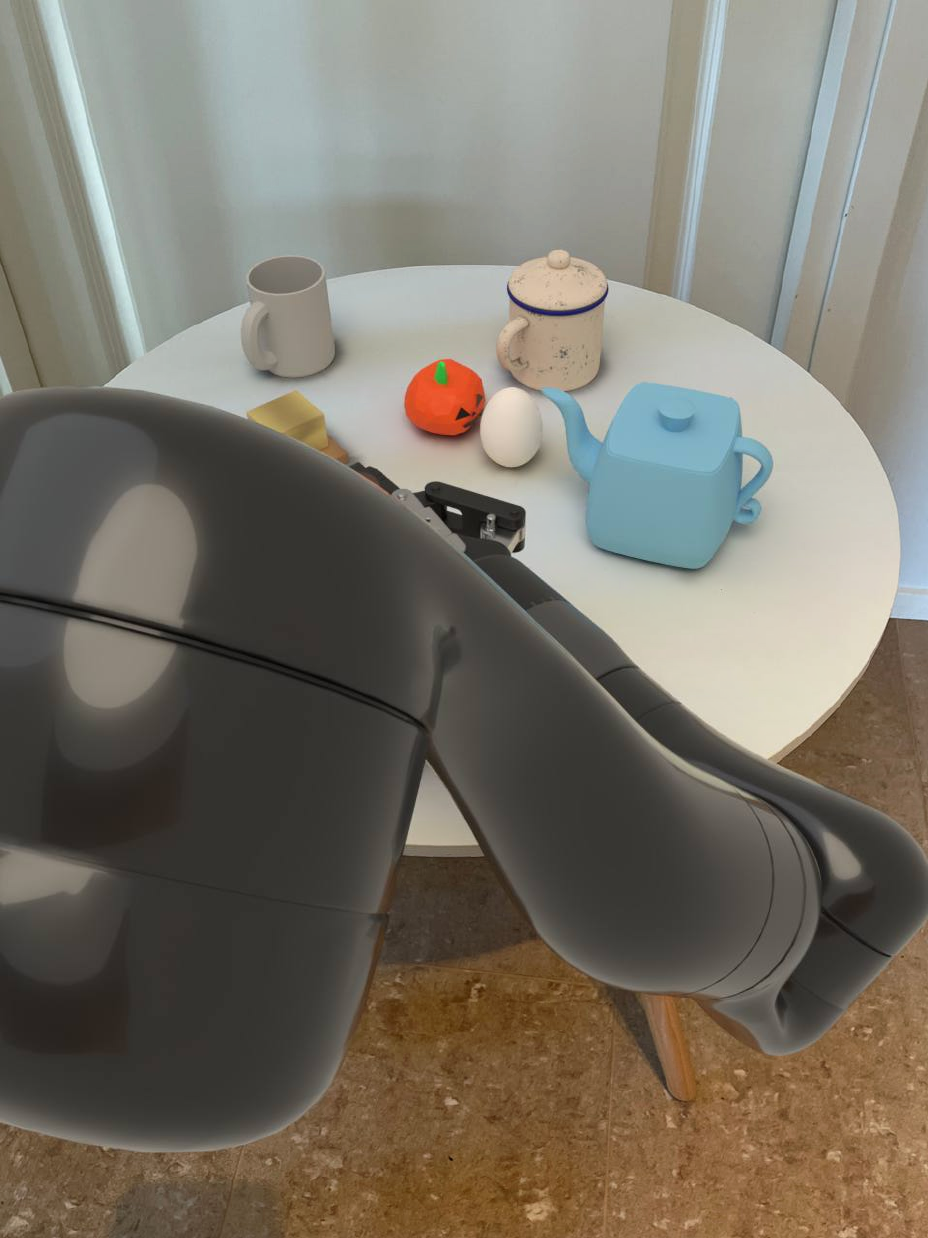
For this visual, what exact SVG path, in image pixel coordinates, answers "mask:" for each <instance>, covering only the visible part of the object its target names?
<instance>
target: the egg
mask: <svg viewBox="0 0 928 1238" xmlns="http://www.w3.org/2000/svg"><path fill="white" fill-rule="evenodd" d="M479 434H480V441H481V444H482V447H483V450H484V451H485V453H486V455H487V456H488V457H489V458H490V459H491V460H492V461H494V462H495V463H496V464H497V465H500V466H502V467H505V468H518V467H521V466H523V465H524V464H526V463H528V462H529V461H530V460H531V459H532V458H534V457H535V455H536V454H537V452H538V450H539V449H540V446H541V444H542V441H543V436H544V423H543V418H542V413H541V411H540V409H539V407H538V405H537V403H536V401H535V400H534V398H533V397H532V396H531V395H530V394H529V393H528V392H527V391H526V390H524V389H522V388H519V387H515V386H511V387H510V386H508V387H504V388H503V389H500V390H498V391H497V392H496V393H494V395H492V397H490V399H489V401H488V402H487V403H486V406H485V407H484V409H483V412H482V415H481V419H480V427H479Z"/></svg>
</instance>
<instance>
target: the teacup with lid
mask: <svg viewBox="0 0 928 1238" xmlns="http://www.w3.org/2000/svg"><path fill="white" fill-rule="evenodd" d="M609 288H610V287H609V284H608V279H607V277H606V276H605V274H604V273H603V271H602V270H601V269H600V268H599V267H597V266H596V265H595V264H593V263H591V262H589V261H586V260H584V259H582V258H577V257H572V256H571V255H570V254H569V252H568V251H566V250H564V249H553V250H552V251H549V253H548V255H547V256H542V257H538V258H535V259H534V258H533V259H530V260H528V261H526V262H524V263H522V264H520V265H519V266H518V267H516V268H515V269H514V270H513V272H511V275H510V276H509V279H508V281H507V283H506V292H507V295H508V297H509V299H508V300H509V301H508V302H509V304H508V307H509V309H508V310H509V312H508V313H509V314H508V315H509V316H508V317H509V318H508V323H507V324H506V325H505V326H504V327H503V328H502V330H501V331H500V334H499V335H498V337H497V340H496V347H495V349H496V350H495V351H496V352H495V354H496V357H497V361H498V363H499V364H500V365H501V367H503V368H504V369H506V370H508V371H510V373H511V375H512V376H513V378H514V379H516V381H517V382H519V383H520V384H522V385H523V386H525V387H527V388H530V389H533V390H536V391H541V390H542V388H544V387H550V388H555V389H559V390H561V391H564V392H570V391H574V390H578V389H579V388H583V387H585V386H586V385H588V384H589V383H591V382H592V381H593V380H594V379H595V377H596V376H597V375H598V373H599V370H600V365H601V353H602V342H603V330H604V329H603V328H604V317H605V306H606V305H605V304H606V298H607V296H608V294H609ZM541 392H542V391H541Z"/></svg>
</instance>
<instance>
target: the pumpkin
mask: <svg viewBox="0 0 928 1238" xmlns="http://www.w3.org/2000/svg"><path fill="white" fill-rule="evenodd" d="M486 402H487V401H486V394H485V389H484V385H483V379H482V378H481V377H480V375H478V373H477V372H476V371H474V370H473V369H471V367H468V366H466V365H464V364H462V363H460V362H457V361H456V360H454V359H451V358H444V359H443V358H441V359H438V360H436V361H434V362H432V363H430V364H428V365H426V366H425V367H423V368H421V369H420V370H419V371H418V372H417V373H416V374H415V375H413V377H412V379H411V380H410V382H409V384H408V386H407V387H406V390H405V394H404V404H403V406H404V411H405V415H406V417H407V418H408V420H409V421H410V422H411V423H412V424H413V425H414V426H415V427H418V428H419V429H421V430H424V431H426V432H429V433H432V434H435V435H436V434H438V435H442V436H457V435H459V434H463V433H465V432H467V431H468V430H469V429H470V428H471V427H472V426H474V424H476V423H477V422H478V421H479V420H480V418H482V414H483V412H484V410H485V405H486Z"/></svg>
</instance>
